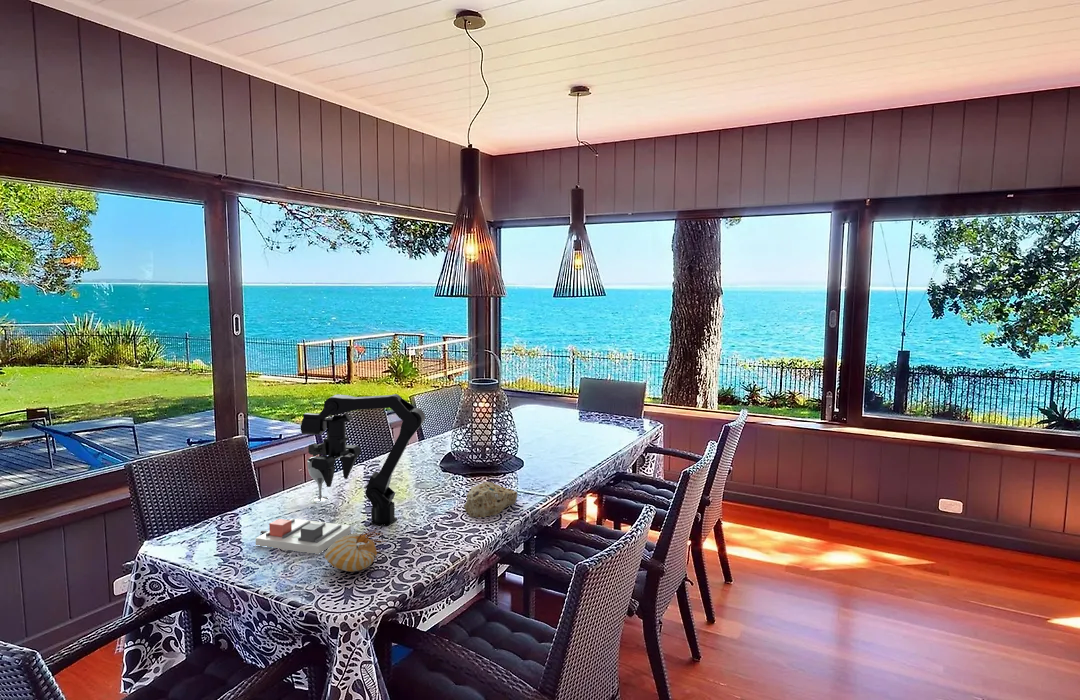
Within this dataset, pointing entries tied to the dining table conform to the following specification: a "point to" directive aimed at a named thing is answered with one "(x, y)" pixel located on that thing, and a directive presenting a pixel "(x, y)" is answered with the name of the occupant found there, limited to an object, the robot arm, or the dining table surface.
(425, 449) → the dining table surface
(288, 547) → the white flat slab
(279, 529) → the red switch
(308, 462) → the wine glass
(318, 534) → the grey cube
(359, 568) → the nautilus
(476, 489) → the rock
